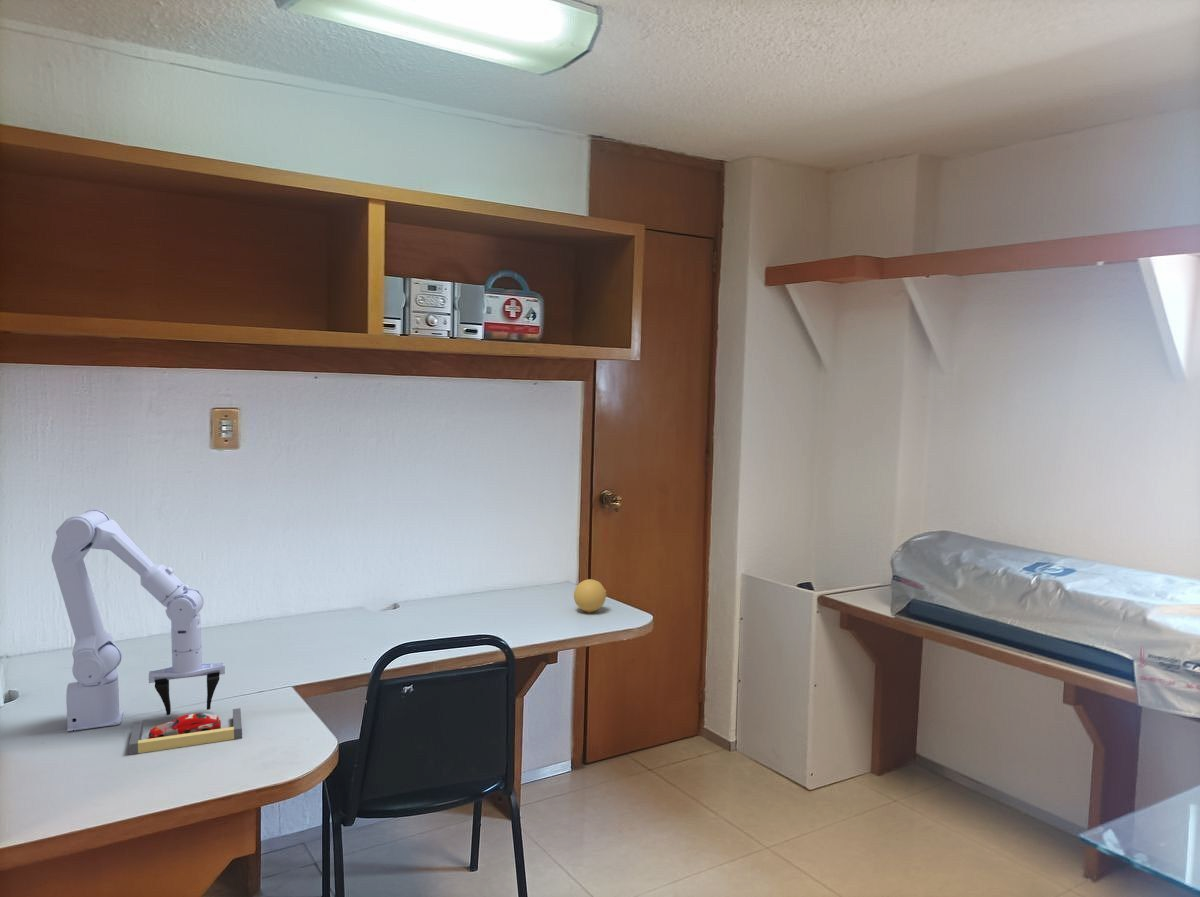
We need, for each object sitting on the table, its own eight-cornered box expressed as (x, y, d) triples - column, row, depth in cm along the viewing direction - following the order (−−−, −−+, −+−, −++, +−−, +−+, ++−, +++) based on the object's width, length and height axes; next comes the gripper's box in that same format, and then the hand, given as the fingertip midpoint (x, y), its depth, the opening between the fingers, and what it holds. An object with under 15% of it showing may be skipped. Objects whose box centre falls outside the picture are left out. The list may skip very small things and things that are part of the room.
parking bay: (129, 754, 168) (128, 744, 168) (134, 732, 178) (134, 722, 178) (242, 738, 176) (241, 728, 176) (240, 717, 186) (240, 708, 186)
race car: (147, 747, 172) (146, 727, 172) (149, 736, 177) (148, 717, 177) (221, 736, 177) (220, 716, 177) (221, 726, 182) (220, 707, 182)
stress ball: (596, 619, 265) (617, 595, 268) (575, 597, 263) (596, 573, 266) (583, 616, 274) (604, 593, 278) (562, 594, 272) (584, 571, 275)
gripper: (224, 638, 192) (225, 699, 193) (149, 646, 186) (151, 708, 187) (224, 648, 185) (226, 710, 186) (147, 656, 179) (149, 720, 181)
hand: (188, 710), depth 186 cm, fingers open, 7 cm apart
